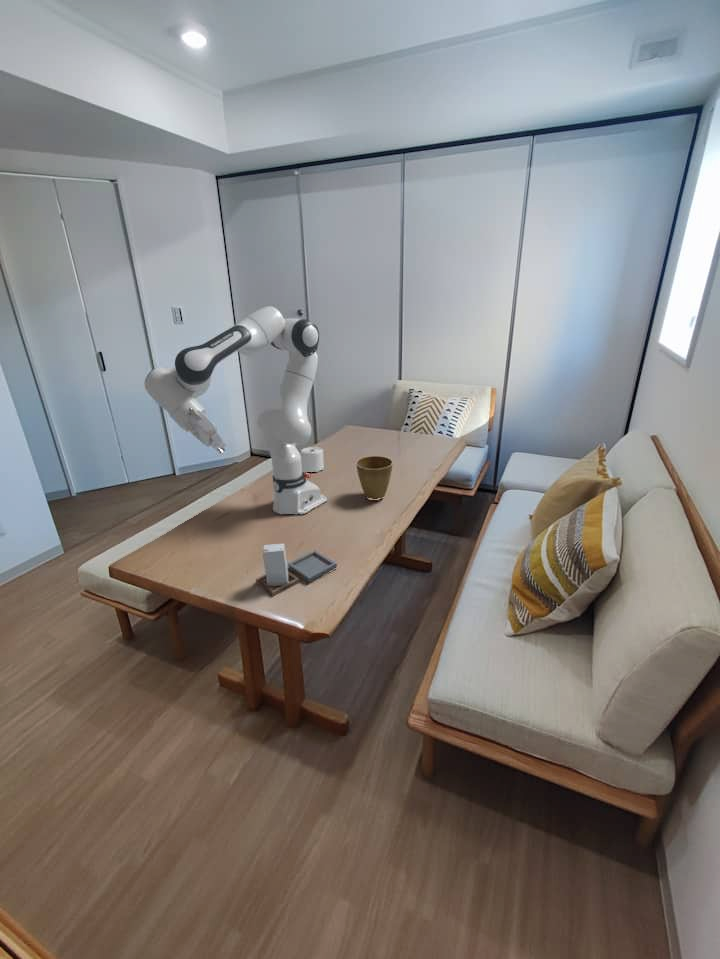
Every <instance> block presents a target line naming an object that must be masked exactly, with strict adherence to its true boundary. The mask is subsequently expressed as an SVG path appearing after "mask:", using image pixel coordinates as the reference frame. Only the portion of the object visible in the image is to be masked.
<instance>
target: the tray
mask: <svg viewBox="0 0 720 959" xmlns="http://www.w3.org/2000/svg"><path fill="white" fill-rule="evenodd" d="M337 564H338V563H336V562H335V561H334V560H332V559H330V558H329V557H327V556H326V555H323V554H322V553H320V552H319V551H317V550H313V551H310V552H309V553H307V554H304V555H303V556H301V557H299V558H297V559H294V560H293V561H291V562H289V563H288V562H287V568H288V571H291V572H292V573H293V572H294V574H295V575H296V574H297V575H296V576H298V577H299V578H301V580H303V581H305V582H306V583H308V584H310V585H311V584H312V583H314V582H316V581H317V579H318V578H319V579H321V578H322V577H321V576H323V575H324V574H326V573H328V572H329V571H331V570H333V569H334V568H336V567H337V568H338V565H337ZM328 574H329V573H328ZM320 577H321V578H320ZM323 577H324V576H323ZM319 579H318V580H319ZM315 580H316V581H315ZM313 581H314V582H313Z"/></svg>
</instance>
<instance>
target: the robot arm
mask: <svg viewBox="0 0 720 959" xmlns="http://www.w3.org/2000/svg"><path fill="white" fill-rule="evenodd" d="M319 330H320V329H319V328H318V326H317V325H316V323H314V322H312V321H311V320H309V319H305V318H297V317H296V318H295V317H294V318H293V317H290V318H284V316H283V314H282V313H281V312H280V311H279V309H278V308H276V307H274V306H269V305H268V306H264V307H261V308H260V309H257V310H255V311H253V312H251V313H250V314H249V315H247V316H245V317H244V318H242V319H241V320H240V321H238V322H237V323H236V324H234V325H233V326H232V327H230V328H228V329H226V330H225V331H223V332H221V333H220V334H218V335H216V336H215V337H212V338H211V339H210V340H208V341H206V342H204V343H202V344H200V345H195V346H190V347H186V348H184V349H182V350H180V351H179V352H178V353H177V355H176V357H175V359H174V366H167V367H163V366H156V367H155V368H153V369H152V370H150V372H149V373H148V374H147V375H146V377H145V380H144V388H145V390H146V392H147V393H148V394H149V396H150V397H151V399H153V401H155V403H156V404H157V405H158V406H159V407H160V408H162V409H164V410H165V411H166V412H167V413H168V415H169V416H170V418H171V419H172V420H173V421H174V422H175V423H176V424H177V425H178V426H179V427H180V428H181V429H182V430H185V431H186V432H187V433H190V434H192V435H193V436H194V437H195V438H196V439H197V440H198V441H200V442H201V443H202V444H203V445H204V446H206V447H208V448H210V447H212V448H214V449H215V450H216V451H217V452H218V453H219V454H220V455H222V454H223V453H225V451H226V449H225V447H226V445H227V444H226V442H225V441H224V440H223V439H222V438H221V436H220V435H219V433H218V427H217V425H215V423H214V422H213V421H212V420H210V418H208V417H207V415H206V414H205V413H206V409H205V407H203V405H202V404H201V403H200V402H199V401H197V399H196V398H198V397H200V396H202V395H204V393H206V392H207V391H208V390H209V387H210V385H211V378H212V375H213V372H214V370H215V368H216V366H217V365H218V364H219V363H220V362H222V361H224V360H225V359H227V358H229V356H231V355H233V354H234V353H236V352H238V353H239V354H241V355H244V356H248V357H252V356H253V355H256V354H258V353H260V352H262V351H264V349H266V348H267V347H268V346H269V345H271V346H272V347H274V348H276V349H277V350H281V351H283V350H284V351H287V352H288V362H287V364H286V368H285V371H284V374H283V376H282V380H281V384H280V386H279V390H278V393H279V396H280V398H281V409H276V408H275V409H273V408H272V409H271V408H270V409H265V410H262V412H260V414H259V415H258V417H257V427H258V429H259V431H260V432H261V433H262V435H263V437H264V440H265V443H266V445H267V448H268V451H269V455H270V458H271V465H272V485H273V490H274V492H273V493H274V494H273V496H274V497H273V505H272V511H273V512H274V513H276V514H279V515H282V514H295V515H297V514H305V513H307V512H308V511H310V510H311V509H313V508H315V507H317V506H318V505H320V504H322V503H324V502H325V501H327V502H328V499H327V497H326V496H325V495H324V494H323V493H321V489H320V488H319V487H318V485H317V484H315V483H313V482H312V481H309V480H308V479H311V476H312V473H304V472H302V466H301V455H300V454H301V452H299V449H297V446H301V445H304V444H306V443H307V442H308V441H309V440H310V437H311V435H312V426H311V423H310V422H309V416H308V403H309V398H310V395H311V391H312V388H313V385H314V381H315V378H316V374H317V371H318V370H317V369H318V362H319V355H318V354H317V350H318V345H319V342H320V331H319ZM324 504H325V503H324ZM322 505H323V504H322ZM320 506H321V505H320ZM317 508H318V507H317ZM315 509H316V508H315ZM310 512H311V511H310ZM308 513H309V512H308ZM308 513H307V514H308ZM305 515H306V514H305Z"/></svg>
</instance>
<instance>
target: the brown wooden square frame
mask: <svg viewBox="0 0 720 959" xmlns="http://www.w3.org/2000/svg"><path fill="white" fill-rule="evenodd" d="M288 576H289V578H290V580H291V581H288V583H287V584H285V585H281V586H279V587H278V588H275V589H273V588H272V587H271V586H268V585H267V583H265V582H264V581H267V579H266V573H265V574H263V575H261V576H258V577H257V578H256V579H255V583H256V584H258V585H259V586H260V587H261V588H262V589H264V591H266V592H267V593H269V594H270V595H271V596H272V597H275V596H277V595H279V594H280V593H282V592H284V591H286V590H288V589H289V588H291V587H293V586H296V585H297V584H300V577H299V578H298V577H297V575H294V574H293V572H292V573H291V572H290V570H288Z"/></svg>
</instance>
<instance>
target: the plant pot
mask: <svg viewBox="0 0 720 959" xmlns="http://www.w3.org/2000/svg"><path fill="white" fill-rule="evenodd" d="M355 465H356V470H357V476H358V478H359V479H358V480H359V482H360V486H361V488H362V492H363V493H364V496H365V498H366V497H368V498H372V499H378V498H382V497H384V498H385V495H386V493H387V490H388V487H389V484H390V481H391V475H392V470H393V460H392V459H391V458H390V457H387V456H380V455H370V456H364V457H361V458H359V459H357V461H356V462H355Z"/></svg>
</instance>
